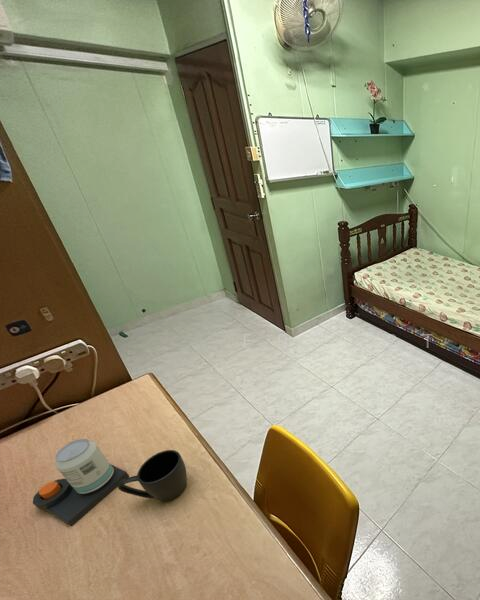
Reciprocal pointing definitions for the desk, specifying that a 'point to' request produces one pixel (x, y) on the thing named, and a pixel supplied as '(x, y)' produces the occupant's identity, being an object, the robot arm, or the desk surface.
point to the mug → (159, 477)
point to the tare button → (49, 490)
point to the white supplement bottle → (83, 465)
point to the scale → (77, 498)
